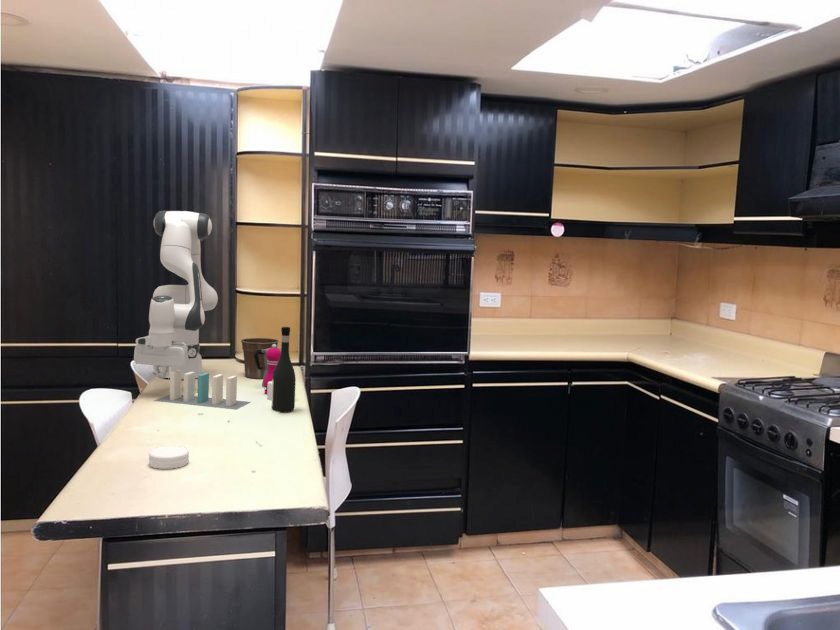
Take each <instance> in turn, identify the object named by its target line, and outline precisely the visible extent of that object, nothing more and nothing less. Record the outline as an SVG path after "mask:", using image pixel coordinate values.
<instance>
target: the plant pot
mask: <svg viewBox="0 0 840 630" xmlns="http://www.w3.org/2000/svg"><path fill="white" fill-rule="evenodd" d="M240 342H241V345H242V346H241V347H242V348H241V349H242V351H243V363H244V376H245V378H250V379H258V380H263V377H264V372H265V363H264V354H259V355H258V357H259V362H260V367H263V369H261V370H259V369H258V368H257V365H256V361H255V358H254V353H255V352H256V351H257V350H263V349H268V348H272V343H276V348H278V345H279V344H278V343H279V342H280V341H279V339H276V338H268V337H267V338H266V337H250V338H248V337H247V338H243V339H240Z"/></svg>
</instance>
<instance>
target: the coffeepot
mask: <svg viewBox="0 0 840 630" xmlns="http://www.w3.org/2000/svg"><path fill="white" fill-rule="evenodd" d="M273 344H276V343H272V345H273ZM277 348H278V347H277ZM268 349H270V348H268ZM268 349H263V350H257V351H256V352H255V353H254V358H255V361H256V365H257V368H258V369H259V370H261V369H263V367H260V362H259V357H258V355H259V354H264V363H265V372H264V377H263V379H262V383H261V386H262V388H265V386H264V384H263V383H264V379H265V377H266V375H267V372H268V364H267V360H268V358H267V357H266V352H267V350H268ZM278 349H280V351H281V348H280V347H279V348H278Z"/></svg>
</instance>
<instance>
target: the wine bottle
mask: <svg viewBox="0 0 840 630" xmlns="http://www.w3.org/2000/svg"><path fill="white" fill-rule="evenodd" d="M280 329H281V330H280V331H281V345H280V346H281V348H280V349H281V355H280V358H279V361H278V363H277V366H276V368H275V370H274V374H273V380H272V401H271V409H272V410H273V411H275V412H279V413H290V412H292V411H294V409H295V405H296V404H295V403H296V382H297V381H296V372H295V369H294V366H293V363H292V361H291V356H290V334H291V327H289V326H282V327H281V328H280ZM289 411H290V412H289Z"/></svg>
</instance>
